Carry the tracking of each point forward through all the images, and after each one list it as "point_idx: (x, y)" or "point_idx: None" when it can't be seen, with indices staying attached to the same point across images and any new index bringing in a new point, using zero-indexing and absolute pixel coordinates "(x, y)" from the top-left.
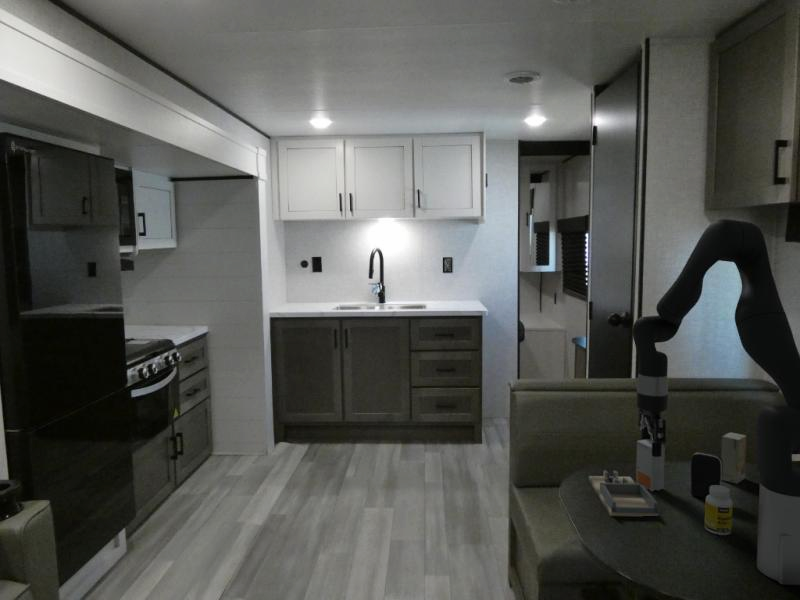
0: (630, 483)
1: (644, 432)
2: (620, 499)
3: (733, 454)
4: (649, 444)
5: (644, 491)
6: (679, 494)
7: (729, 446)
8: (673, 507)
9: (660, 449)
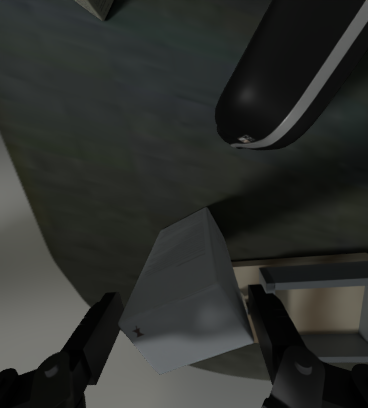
0: None
1: (93, 374)
2: (298, 313)
3: None
4: (209, 344)
5: (317, 287)
6: (232, 176)
7: None
8: (313, 208)
9: (290, 320)
